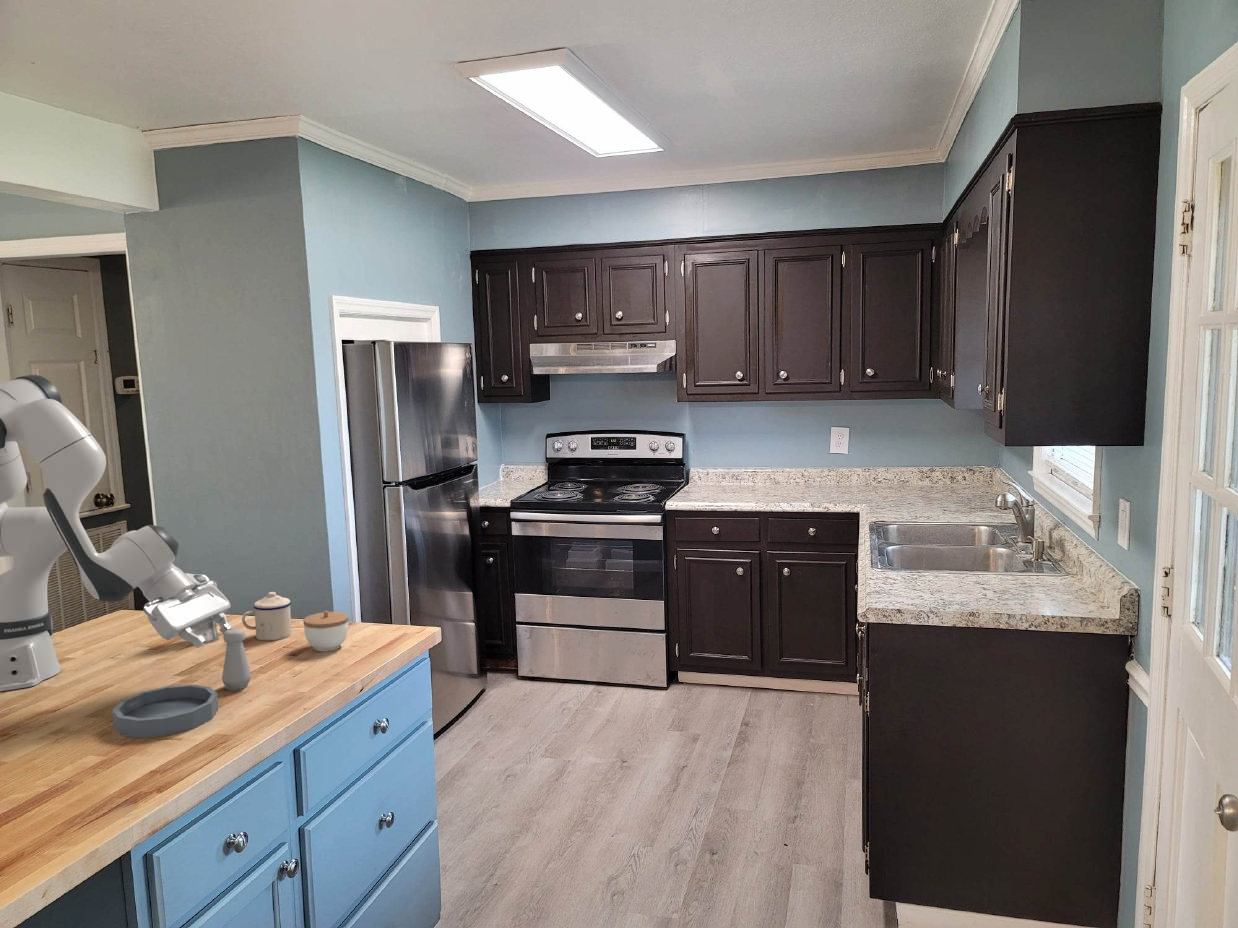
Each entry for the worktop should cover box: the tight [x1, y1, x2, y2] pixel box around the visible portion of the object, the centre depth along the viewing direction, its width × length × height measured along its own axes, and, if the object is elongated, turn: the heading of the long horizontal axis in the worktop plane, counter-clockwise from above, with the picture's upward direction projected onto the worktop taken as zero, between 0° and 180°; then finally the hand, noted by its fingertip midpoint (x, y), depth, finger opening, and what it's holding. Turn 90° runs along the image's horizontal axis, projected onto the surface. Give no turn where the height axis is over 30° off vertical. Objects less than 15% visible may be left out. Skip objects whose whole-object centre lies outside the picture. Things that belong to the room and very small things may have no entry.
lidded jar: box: [303, 610, 350, 652], centre depth 215 cm, size 11×11×9 cm
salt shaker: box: [221, 628, 252, 692], centre depth 188 cm, size 6×6×13 cm
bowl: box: [112, 684, 219, 739], centre depth 172 cm, size 18×18×4 cm
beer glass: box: [193, 579, 220, 644], centre depth 221 cm, size 7×7×15 cm
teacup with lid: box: [241, 591, 292, 642], centre depth 223 cm, size 12×9×12 cm
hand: (215, 638), depth 187 cm, fingers open, 8 cm apart
